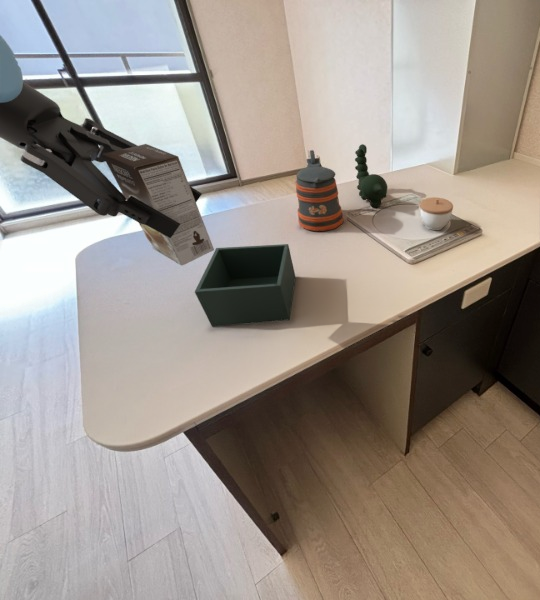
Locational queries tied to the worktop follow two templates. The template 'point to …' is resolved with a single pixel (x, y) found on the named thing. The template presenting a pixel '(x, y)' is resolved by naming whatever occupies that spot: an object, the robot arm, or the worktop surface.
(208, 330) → the worktop surface
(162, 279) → the worktop surface
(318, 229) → the beer stein
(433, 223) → the trinket box
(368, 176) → the toy figurine
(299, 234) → the worktop surface
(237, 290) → the waste bin
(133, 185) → the coffee box
